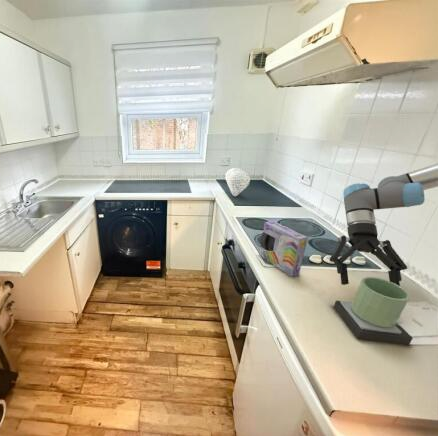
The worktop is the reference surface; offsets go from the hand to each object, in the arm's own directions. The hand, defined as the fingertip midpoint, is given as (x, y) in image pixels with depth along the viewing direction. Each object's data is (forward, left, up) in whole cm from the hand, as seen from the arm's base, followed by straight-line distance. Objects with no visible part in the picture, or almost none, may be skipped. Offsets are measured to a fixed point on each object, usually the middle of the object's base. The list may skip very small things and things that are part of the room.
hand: (370, 287), depth 75 cm
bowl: (-1, +5, -6) cm, 8 cm away
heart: (+68, -110, -10) cm, 130 cm away
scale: (-1, +5, -10) cm, 12 cm away
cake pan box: (+27, -17, -10) cm, 33 cm away
